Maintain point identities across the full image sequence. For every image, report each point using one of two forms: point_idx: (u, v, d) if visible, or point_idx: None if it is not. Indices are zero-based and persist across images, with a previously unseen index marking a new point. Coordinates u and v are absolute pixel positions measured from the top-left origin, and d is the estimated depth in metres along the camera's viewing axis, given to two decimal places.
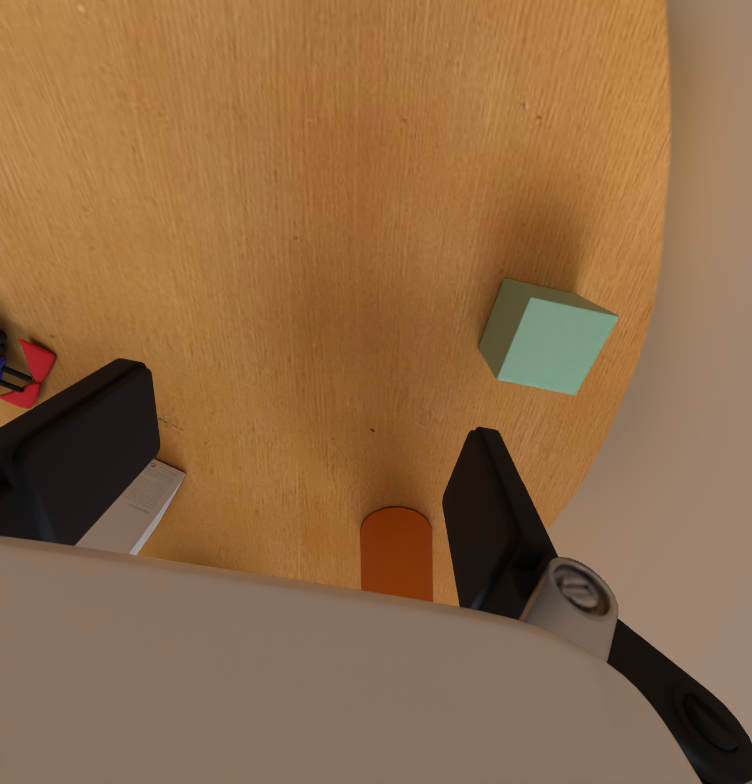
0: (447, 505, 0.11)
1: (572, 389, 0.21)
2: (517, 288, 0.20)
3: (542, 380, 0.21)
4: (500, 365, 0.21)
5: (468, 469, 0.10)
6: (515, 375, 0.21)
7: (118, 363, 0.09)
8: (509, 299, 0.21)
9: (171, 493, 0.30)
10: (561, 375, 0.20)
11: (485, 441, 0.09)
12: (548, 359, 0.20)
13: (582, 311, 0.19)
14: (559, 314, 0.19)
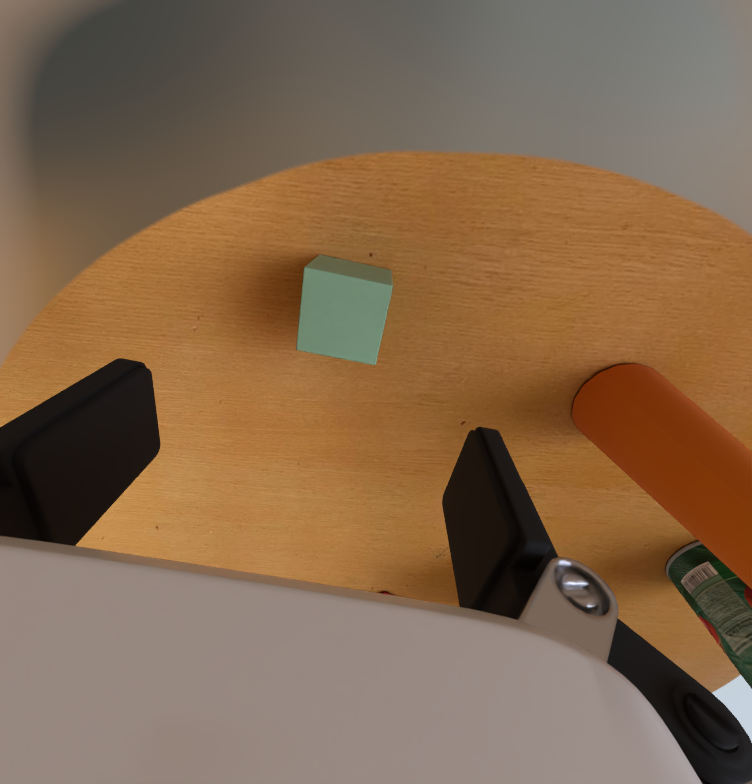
0: (447, 505, 0.11)
1: (385, 291, 0.20)
2: None
3: (375, 324, 0.21)
4: (362, 361, 0.22)
5: (468, 469, 0.10)
6: (370, 349, 0.21)
7: (118, 363, 0.09)
8: None
9: None
10: (369, 306, 0.20)
11: (485, 441, 0.09)
12: (352, 322, 0.21)
13: (302, 303, 0.20)
14: (308, 323, 0.21)
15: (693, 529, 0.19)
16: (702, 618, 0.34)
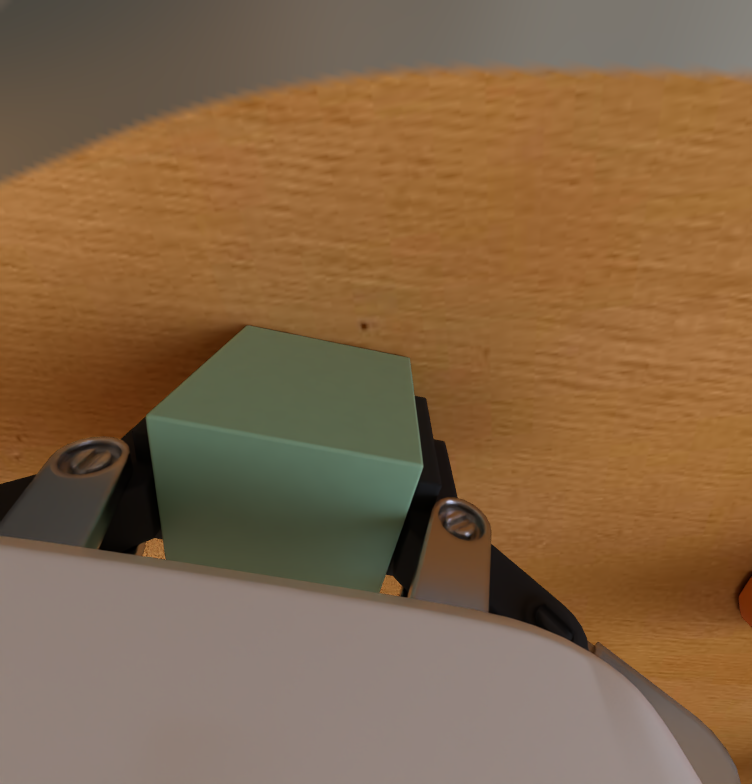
0: None
1: (400, 477, 0.07)
2: None
3: (371, 545, 0.07)
4: None
5: None
6: (358, 589, 0.08)
7: None
8: None
9: None
10: (352, 510, 0.07)
11: None
12: (307, 541, 0.07)
13: (162, 500, 0.07)
14: (187, 539, 0.08)
15: None
16: None
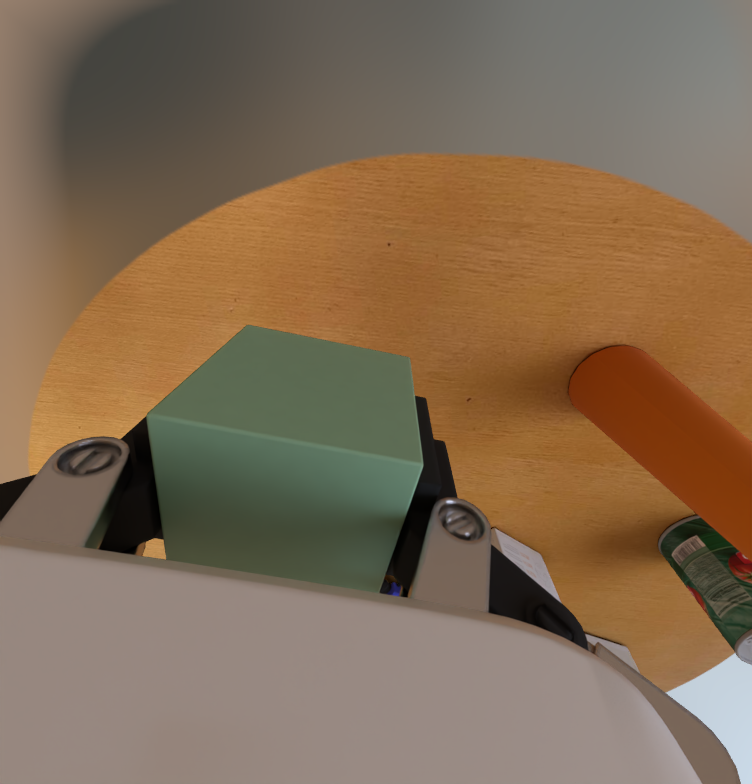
0: None
1: (401, 476, 0.07)
2: None
3: (371, 544, 0.07)
4: None
5: None
6: (358, 588, 0.08)
7: None
8: None
9: (499, 545, 0.39)
10: (352, 509, 0.07)
11: None
12: (308, 540, 0.07)
13: (163, 498, 0.07)
14: (187, 538, 0.08)
15: (667, 482, 0.22)
16: (690, 587, 0.36)
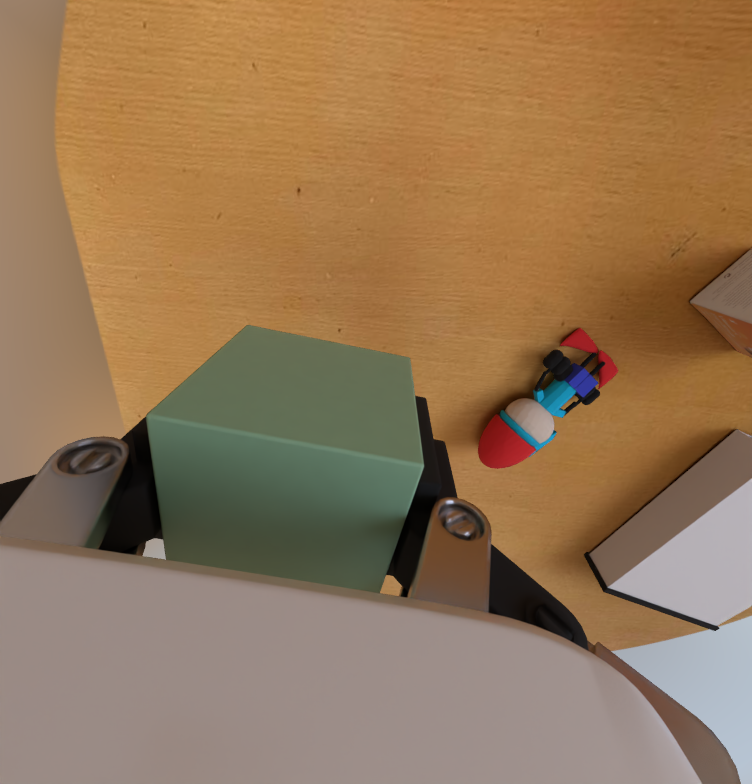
0: None
1: (401, 477, 0.07)
2: None
3: (372, 545, 0.07)
4: None
5: None
6: (359, 589, 0.08)
7: None
8: None
9: None
10: (352, 510, 0.07)
11: None
12: (308, 540, 0.07)
13: (163, 499, 0.07)
14: (187, 539, 0.08)
15: None
16: None
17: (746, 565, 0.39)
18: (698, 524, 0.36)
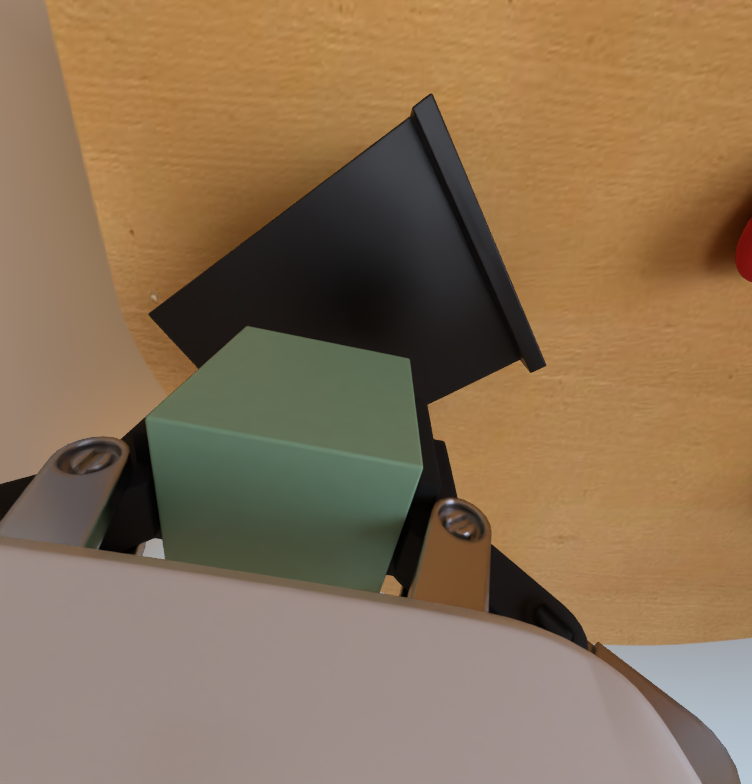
0: None
1: (400, 479, 0.07)
2: None
3: (371, 547, 0.07)
4: None
5: None
6: None
7: None
8: None
9: None
10: (351, 511, 0.07)
11: None
12: (308, 542, 0.07)
13: (162, 501, 0.07)
14: (187, 541, 0.08)
15: None
16: None
17: None
18: None
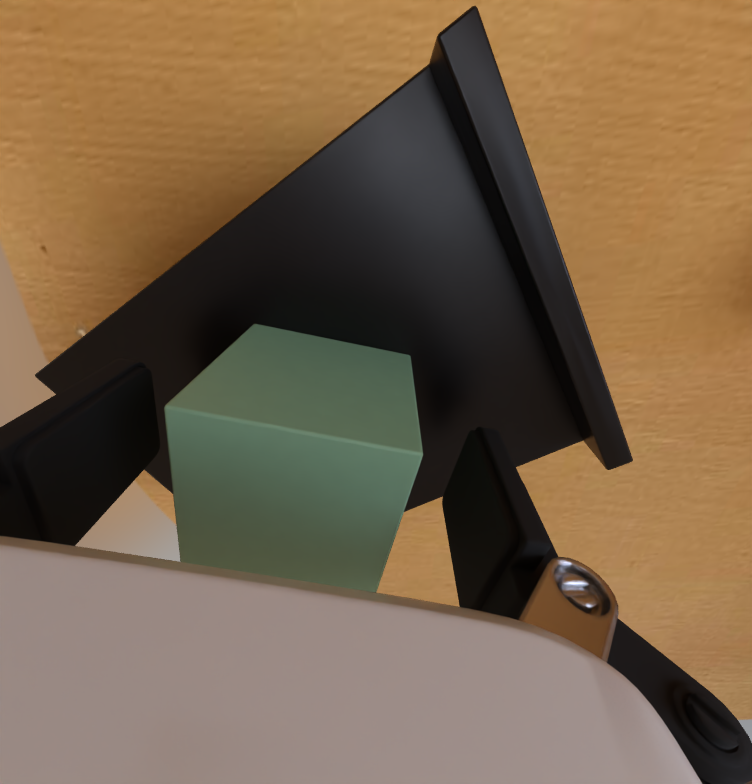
0: (447, 505, 0.11)
1: (401, 465, 0.07)
2: None
3: (374, 531, 0.08)
4: None
5: (468, 469, 0.10)
6: (361, 574, 0.09)
7: (118, 363, 0.09)
8: None
9: None
10: (356, 497, 0.07)
11: (485, 441, 0.09)
12: (314, 526, 0.08)
13: (177, 487, 0.07)
14: (200, 525, 0.08)
15: None
16: None
17: None
18: None
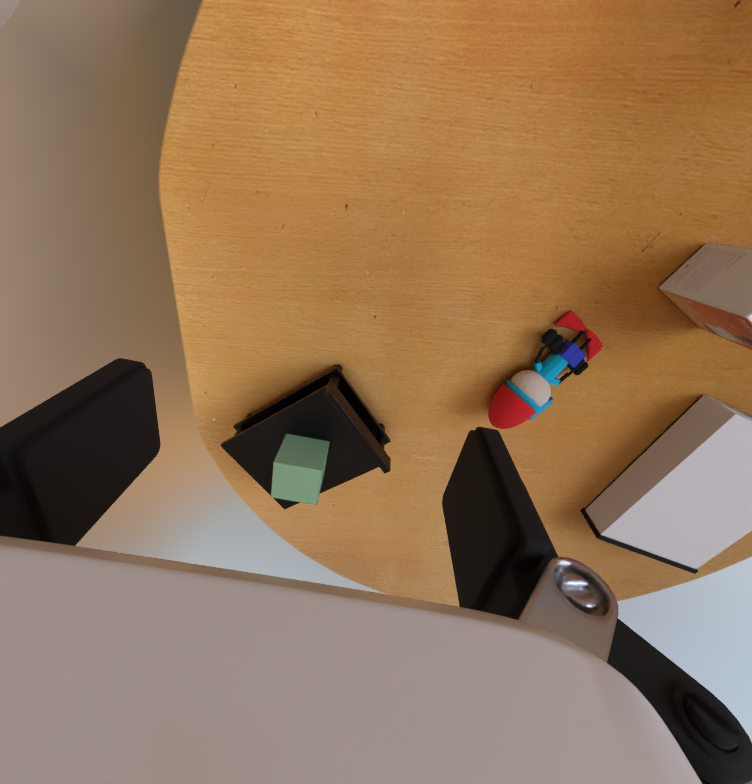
0: (447, 505, 0.11)
1: (318, 473, 0.36)
2: None
3: (314, 486, 0.37)
4: (309, 502, 0.38)
5: (468, 469, 0.10)
6: (313, 497, 0.38)
7: (118, 363, 0.09)
8: None
9: (727, 245, 0.33)
10: (310, 479, 0.36)
11: (485, 441, 0.09)
12: (301, 486, 0.37)
13: (273, 477, 0.36)
14: (277, 485, 0.37)
15: None
16: None
17: (717, 511, 0.46)
18: (673, 474, 0.43)
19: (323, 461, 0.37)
